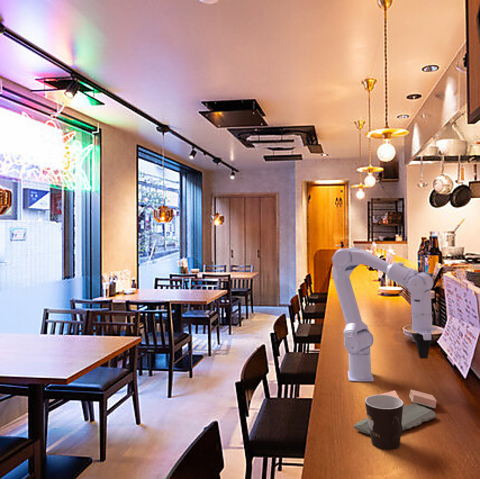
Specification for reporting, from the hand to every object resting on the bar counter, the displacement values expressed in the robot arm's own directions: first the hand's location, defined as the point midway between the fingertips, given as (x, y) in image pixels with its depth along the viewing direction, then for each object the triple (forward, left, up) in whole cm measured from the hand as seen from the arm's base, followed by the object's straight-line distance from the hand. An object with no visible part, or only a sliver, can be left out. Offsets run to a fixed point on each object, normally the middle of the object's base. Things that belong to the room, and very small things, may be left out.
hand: (423, 357), depth 134 cm
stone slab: (+23, -12, -10) cm, 28 cm away
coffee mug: (+35, -16, -11) cm, 40 cm away
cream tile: (+9, -12, -9) cm, 17 cm away
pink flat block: (+8, -3, -9) cm, 12 cm away
